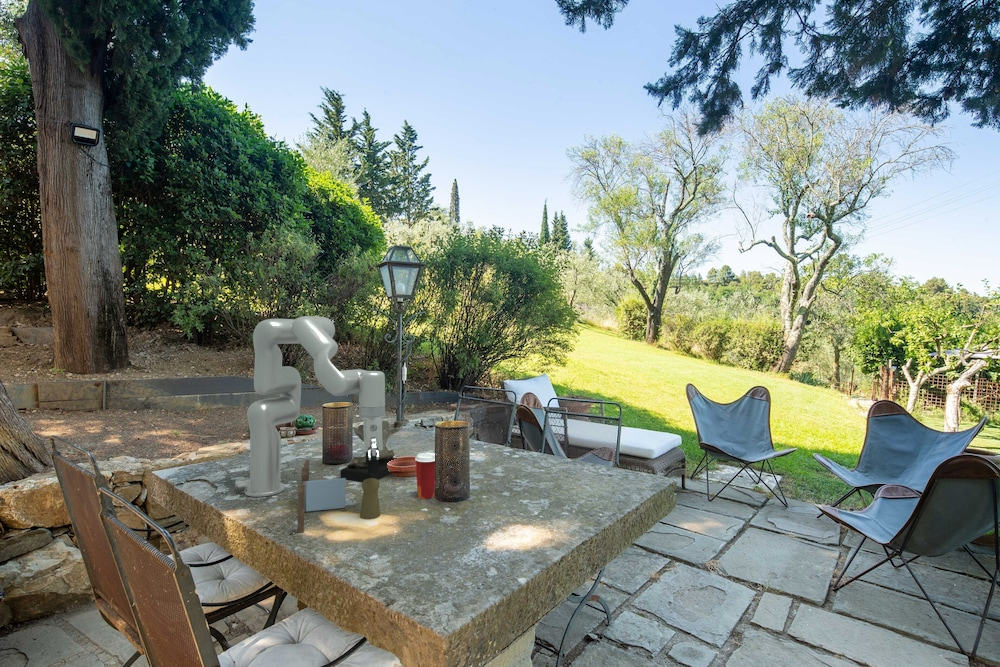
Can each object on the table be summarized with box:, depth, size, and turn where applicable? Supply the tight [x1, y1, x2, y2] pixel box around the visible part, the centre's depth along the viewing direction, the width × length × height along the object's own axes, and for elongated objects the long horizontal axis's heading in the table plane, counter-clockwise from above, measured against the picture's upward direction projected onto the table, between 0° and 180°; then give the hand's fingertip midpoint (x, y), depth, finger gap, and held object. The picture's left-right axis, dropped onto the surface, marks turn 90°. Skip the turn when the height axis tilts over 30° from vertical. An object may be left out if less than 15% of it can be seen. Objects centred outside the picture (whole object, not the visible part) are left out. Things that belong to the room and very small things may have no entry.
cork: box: [359, 478, 381, 520], centre depth 145 cm, size 6×6×11 cm
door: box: [303, 477, 347, 513], centre depth 148 cm, size 1×12×9 cm, turn 109°
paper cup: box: [414, 452, 436, 500], centre depth 162 cm, size 8×8×14 cm
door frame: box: [297, 459, 310, 534], centre depth 145 cm, size 2×27×13 cm, turn 19°
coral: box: [339, 418, 410, 483], centre depth 187 cm, size 25×20×22 cm
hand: (372, 468), depth 144 cm, fingers open, 9 cm apart
